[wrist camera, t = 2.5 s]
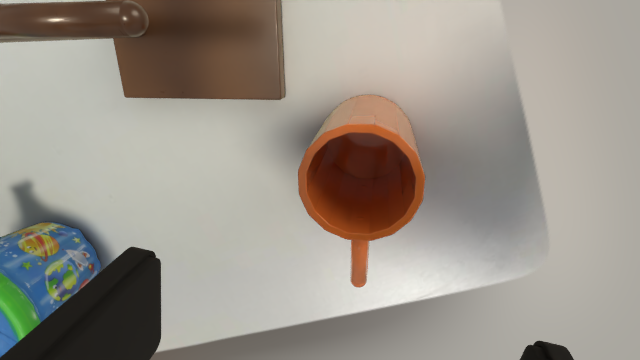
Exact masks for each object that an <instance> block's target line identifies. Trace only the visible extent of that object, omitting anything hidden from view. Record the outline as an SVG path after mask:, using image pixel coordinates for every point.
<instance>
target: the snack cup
mask: <svg viewBox="0 0 640 360" xmlns="http://www.w3.org/2000/svg"><path fill="white" fill-rule="evenodd" d="M100 268H101V264H100V261H99V260H98V258H97V254H96V251H95V249H94V248H93V247H92V245H91V244H90V243H89V242H88V241H87V240H86V239H85V238H84V236H83V234H82V233H81V231H80V230H79V229H77V228H70V227H68V226H66V225H63V224H60V223H55V222H43V223H39V224H35V225H32V226H30V227H27V228H24V229H21V230H19V231H16V232H13V233H10V234H8V235H5V236H2V237H0V357H1V356H2V355H3V354H5V353H6V352H7V351H8V350H9V349H10V348H12V347H13V346H14V345H15V344H16V343H18V342H19V341H20V340H21V339H22V338H23V337H25V336H26V335H27V334H28V333H29V332H30V331H32V330H33V329H34V328H35V327H36V326H37V325H39V324H40V323H41V322H42V321H43V320H44V319H46V318H47V317H48V316H49V315H50V314H51V313H53V312H54V311H55V310H56V309H57V308H58V307H60V306H61V305H62V304H63V303H64V302H65V301H67V300H68V299H69V298H70V297H71V296H73V295H74V294H75V293H77V292H78V291H79V290H80V289H81V288H82V287H84V286H85V285H86V284H87V283H88V282H89V281H91V280H92V279H93V278H94V277H95V276H96V275H98V272H99V270H100Z"/></svg>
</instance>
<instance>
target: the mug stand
mask: <svg viewBox="0 0 640 360" xmlns="http://www.w3.org/2000/svg"><path fill="white" fill-rule="evenodd" d="M109 38H113V39H114V45H115V50H116V55H117V60H118V65H119V70H120V76H121V81H122V86H123V91H124V96H125V97H126V98H190V99H261V100H281V99H282V98H284V97H285V87H284V65H283V43H282V20H281V0H106V1H88V2H50V3H13V4H0V43H4V42H30V41H56V40H82V39H109Z"/></svg>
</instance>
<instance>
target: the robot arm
mask: <svg viewBox="0 0 640 360" xmlns="http://www.w3.org/2000/svg"><path fill="white" fill-rule="evenodd" d="M160 339H161V262H160V259H158V258H156V255H155V253H154V252H153V251H149V250H145V249H140V248H136V247H130V248H128V249H127V250H126V251H124V252H123V253H122V254H121V255H120V256H119V257H117V258H116V259H115V260H114V261H113V262H112V263H110V264H109V265H108V266H107V267H106V268H105V269H103V270H102V271H101V272H100V273H99V274H98V275H96V276H95V277H94V278H93V279H92V280H91V281H89V282H88V283H87V284H86V285H85V286H84V287H82V288H81V289H80V290H79V291H78V292H77V293H75V294H74V295H73V296H71V297H70V298H69V299H68V300H67V301H65V302H64V303H63V304H62V305H61V306H60V307H58V308H57V309H56V310H55V311H54V312H53V313H51V314H50V315H49V316H48V317H47V318H46V319H44V320H43V321H42V322H41V323H40V324H39V325H37V326H36V327H35V328H34V329H33V330H32V331H30V332H29V333H28V334H27V335H26V336H25V337H23V338H22V339H21V340H20V341H19V342H18V343H16V344H15V345H14V346H13V347H12V348H10V349H9V350H8V351H7V352H6V353H5V354H3V355H2V356H1V357H0V360H150V358H151V357H152V355H153V354H154V353H155V351H156V350H157V348H158V346H159V343H160ZM520 360H574V359H573V357H572V356H571V354H570V352H569V351H568V350H567V348H566V347H564V346H560V345H556V344H551V343H548V342H543V341H537V342H535V343H534V345H528V346H527V347H526V349H525V350H524V352H523V355H522V357H521V359H520Z"/></svg>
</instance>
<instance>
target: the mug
mask: <svg viewBox="0 0 640 360" xmlns="http://www.w3.org/2000/svg"><path fill="white" fill-rule="evenodd" d="M424 184H425V174H424V170H423V167H422V163H421V159H420V156H419V152H418V148H417V144H416V141H415V137H414V133H413V131H412V128H411V125H410V122H409V119H408V117H407V116H406V115H405V113H404V112H403V111H402V109H401V108H400V107H398V106H397V105H396V104H395V103H393V102H392V101H390V100H388V99H386V98H383V97H380V96H375V95H361V96H356V97H353V98H350V99H348V100H346V101H344V102H343V103H341V104H340V105H339V106H337V107H336V108H335V109H334V111H333V112H332V113H331V114H330V115H329V116H328V118H327V119H326V121H325V122H324V124H323V125H322V127H321V128H320V130H319V132H318V133H317V135H316V136H315V138H314V139H313V141H312V142H311V144H310V145H309V147H308V149H307V150H306V152H305V155H304V157H303V160H302V162H301V165H300V167H299V170H298V186H299V195H300V197H301V200H302V202H303V204H304V206H305V208H306V210H307V212H308V214H309V215H310V216H311V217H312V218H313V219H314V220H315V221H316V222H317V223H318V224H319V225H320V226H321V227H322V228H323V229H324V230H326V231H328V232H330V233H333V234H335V235H337V236H340V237H342V238H344V239H347V240H351V283H352V284H353V285H354V286H355V287H363V286H364V285H365V284H366V281H367V269H368V255H369V241H372V240H375V239H379V238H382V237H386V236H389V235H392V234H394V233H395V232H397V231H398V230H399V229H401V228H402V227H403V226H405V225H406V224H407V223H408V222H410V221H411V220H412V218H413V217H414V215H415V213H416V211H417V210H418V208H419V206H420V204H421V203H422V201H423V195H424Z"/></svg>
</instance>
